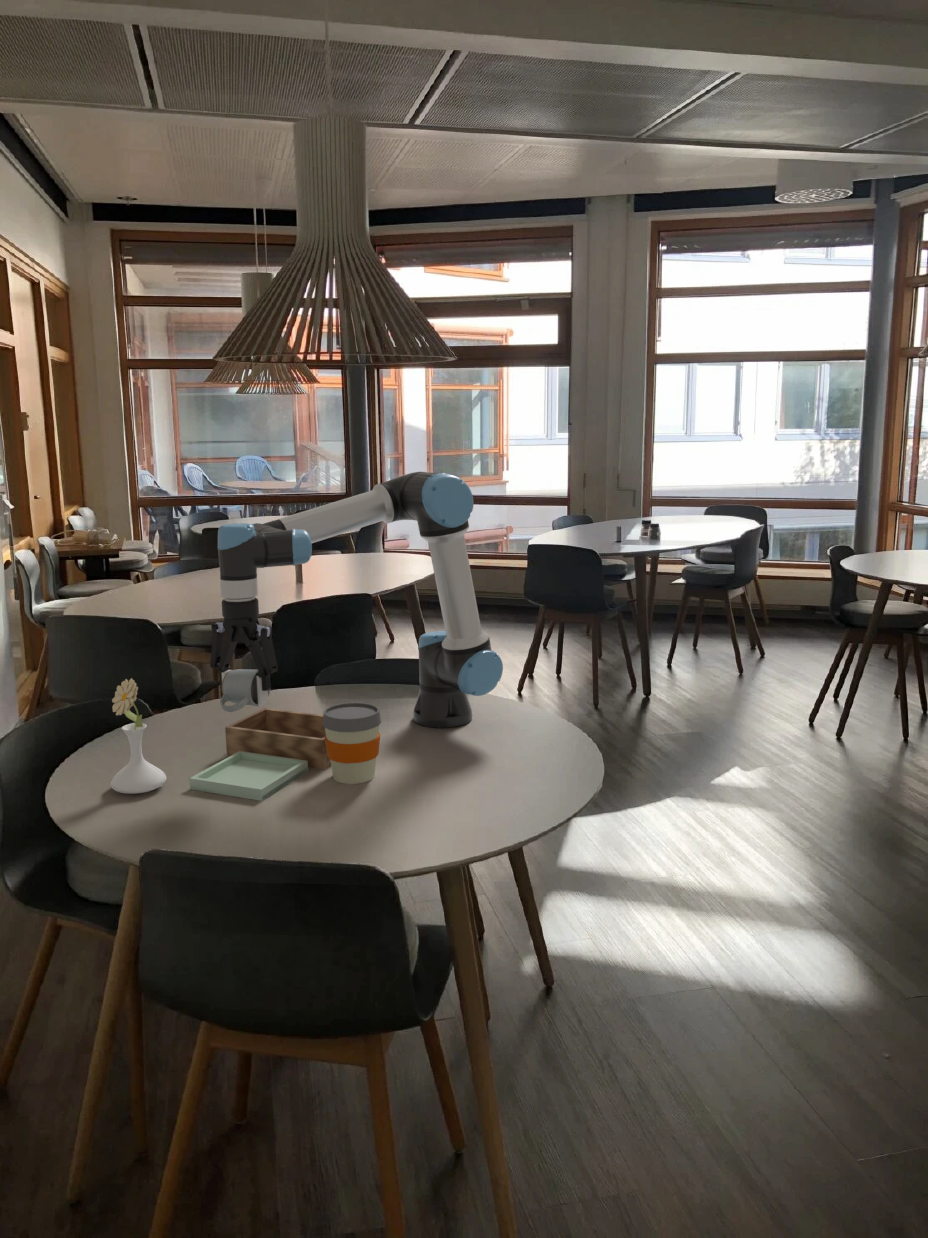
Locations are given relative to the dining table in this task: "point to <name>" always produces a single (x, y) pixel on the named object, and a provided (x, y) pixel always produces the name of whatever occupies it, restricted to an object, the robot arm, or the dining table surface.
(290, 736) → the walnut box frame
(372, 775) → the reusable coffee cup
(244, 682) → the ceramic mug
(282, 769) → the sage tray
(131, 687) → the flower in vase
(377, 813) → the dining table surface
